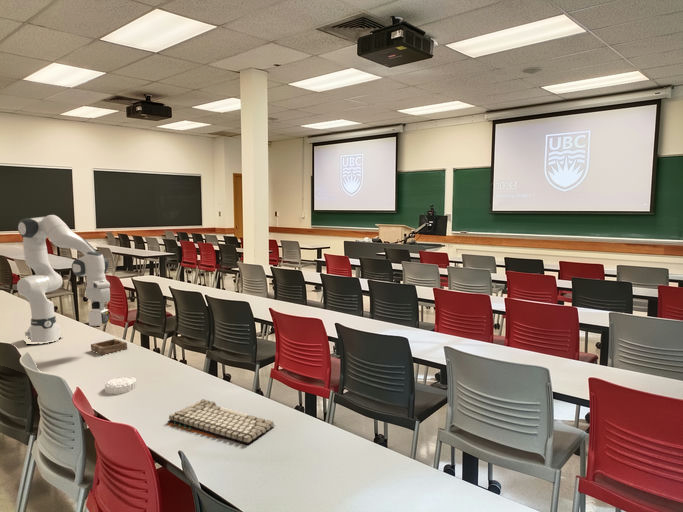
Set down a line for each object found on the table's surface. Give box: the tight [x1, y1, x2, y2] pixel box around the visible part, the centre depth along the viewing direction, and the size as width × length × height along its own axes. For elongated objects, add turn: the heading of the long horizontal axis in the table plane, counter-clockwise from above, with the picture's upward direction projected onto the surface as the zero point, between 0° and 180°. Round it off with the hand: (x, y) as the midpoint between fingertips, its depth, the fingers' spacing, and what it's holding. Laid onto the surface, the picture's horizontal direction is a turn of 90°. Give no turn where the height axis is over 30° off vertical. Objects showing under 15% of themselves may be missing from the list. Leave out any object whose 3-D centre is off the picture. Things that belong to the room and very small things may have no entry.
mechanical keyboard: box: [166, 398, 276, 446], centre depth 166 cm, size 38×19×3 cm, turn 62°
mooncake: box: [104, 376, 137, 395], centre depth 199 cm, size 12×12×4 cm
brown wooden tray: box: [90, 338, 128, 356], centre depth 253 cm, size 13×13×4 cm
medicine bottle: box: [87, 301, 110, 327], centre depth 247 cm, size 7×7×12 cm
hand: (98, 309), depth 247 cm, fingers closed on medicine bottle, 6 cm apart
